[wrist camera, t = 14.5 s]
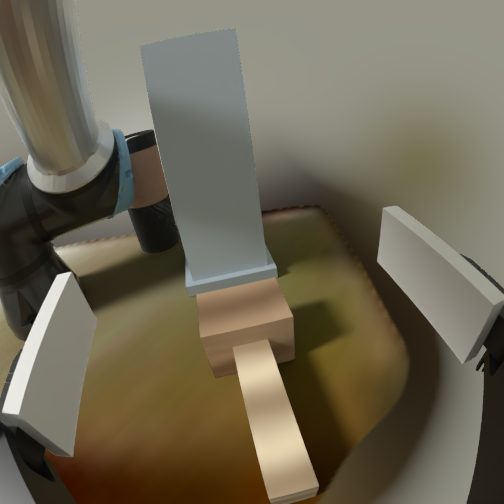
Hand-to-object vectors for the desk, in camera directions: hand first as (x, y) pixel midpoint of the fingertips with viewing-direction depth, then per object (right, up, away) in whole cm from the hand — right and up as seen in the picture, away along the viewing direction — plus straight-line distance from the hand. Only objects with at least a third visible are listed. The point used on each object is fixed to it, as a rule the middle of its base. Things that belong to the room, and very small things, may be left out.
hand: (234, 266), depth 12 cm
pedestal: (-3, -1, +33) cm, 33 cm away
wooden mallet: (+2, -12, +13) cm, 18 cm away
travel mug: (-16, +2, +42) cm, 45 cm away
